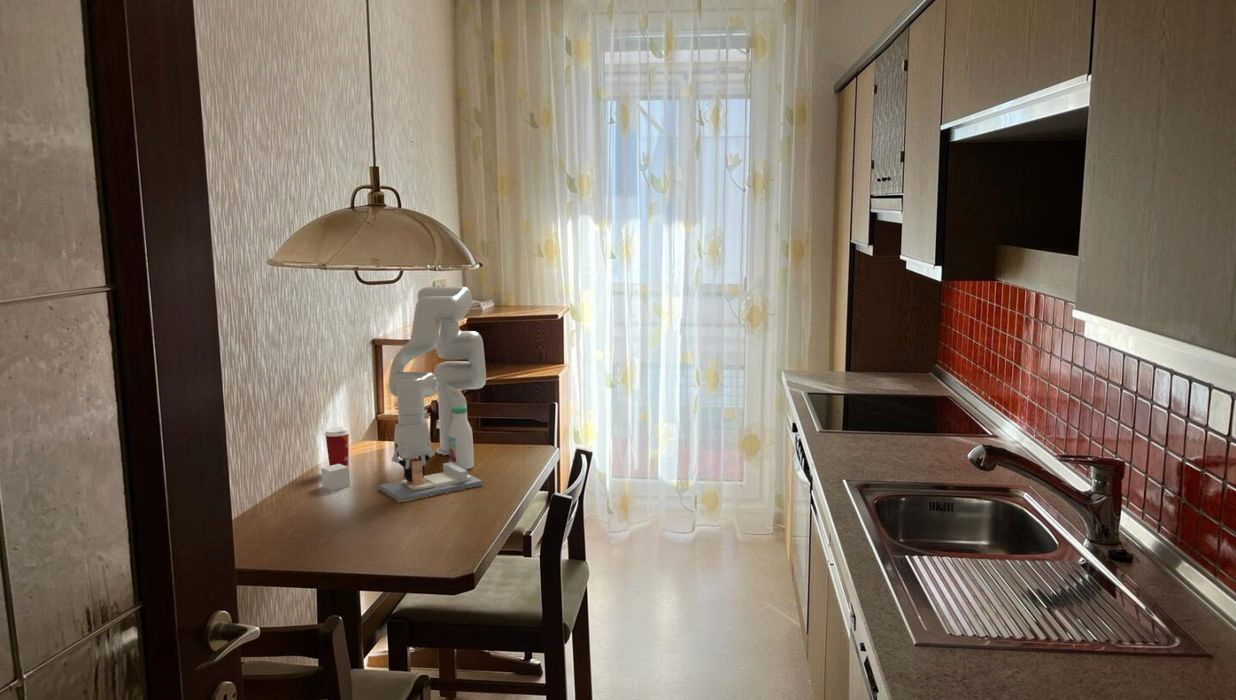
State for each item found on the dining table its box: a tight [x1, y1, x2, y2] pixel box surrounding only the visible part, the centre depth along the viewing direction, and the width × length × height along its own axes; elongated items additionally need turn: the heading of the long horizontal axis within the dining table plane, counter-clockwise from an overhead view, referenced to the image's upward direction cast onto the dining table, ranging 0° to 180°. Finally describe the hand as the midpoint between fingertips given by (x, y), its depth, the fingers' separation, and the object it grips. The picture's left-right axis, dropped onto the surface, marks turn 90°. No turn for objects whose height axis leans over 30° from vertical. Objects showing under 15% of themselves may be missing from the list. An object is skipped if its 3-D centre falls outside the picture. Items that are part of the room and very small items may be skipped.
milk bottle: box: [448, 406, 475, 471], centre depth 283 cm, size 8×8×20 cm
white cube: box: [320, 464, 351, 491], centre depth 266 cm, size 6×6×6 cm
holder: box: [378, 461, 483, 502], centre depth 263 cm, size 16×26×5 cm, turn 126°
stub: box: [400, 457, 434, 491], centre depth 260 cm, size 10×6×8 cm, turn 36°
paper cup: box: [324, 426, 351, 468], centre depth 281 cm, size 8×8×14 cm
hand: (414, 478), depth 260 cm, fingers closed on stub, 3 cm apart
